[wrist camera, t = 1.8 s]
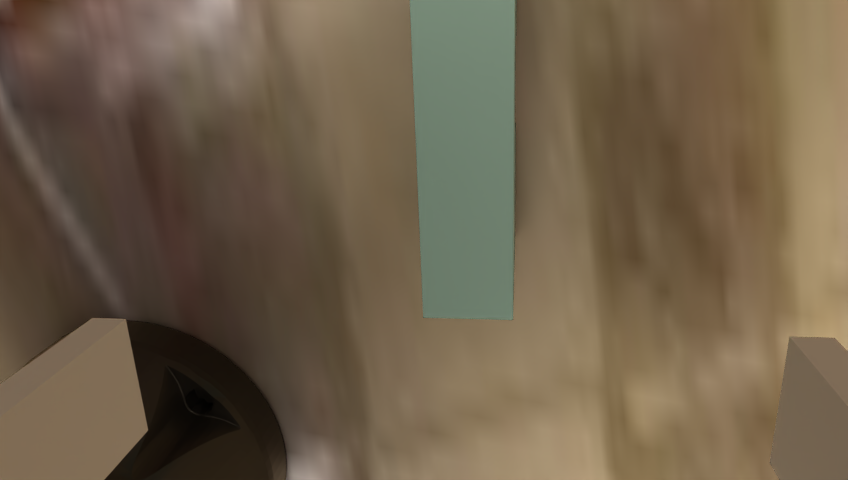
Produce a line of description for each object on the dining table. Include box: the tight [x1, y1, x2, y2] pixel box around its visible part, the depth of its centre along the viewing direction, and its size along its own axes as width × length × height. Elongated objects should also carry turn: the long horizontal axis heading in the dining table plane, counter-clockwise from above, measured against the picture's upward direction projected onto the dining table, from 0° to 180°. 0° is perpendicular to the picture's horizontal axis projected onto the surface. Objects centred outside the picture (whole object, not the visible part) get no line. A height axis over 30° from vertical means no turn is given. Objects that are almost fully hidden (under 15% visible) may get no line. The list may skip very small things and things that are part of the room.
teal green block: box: [410, 0, 517, 320], centre depth 24 cm, size 3×14×8 cm, turn 2°
